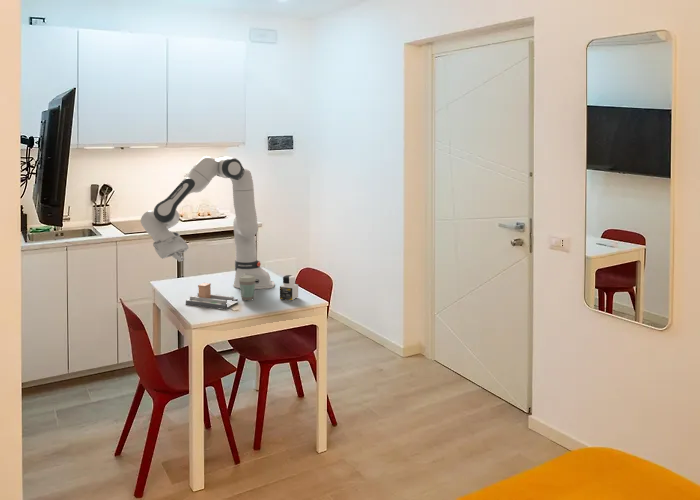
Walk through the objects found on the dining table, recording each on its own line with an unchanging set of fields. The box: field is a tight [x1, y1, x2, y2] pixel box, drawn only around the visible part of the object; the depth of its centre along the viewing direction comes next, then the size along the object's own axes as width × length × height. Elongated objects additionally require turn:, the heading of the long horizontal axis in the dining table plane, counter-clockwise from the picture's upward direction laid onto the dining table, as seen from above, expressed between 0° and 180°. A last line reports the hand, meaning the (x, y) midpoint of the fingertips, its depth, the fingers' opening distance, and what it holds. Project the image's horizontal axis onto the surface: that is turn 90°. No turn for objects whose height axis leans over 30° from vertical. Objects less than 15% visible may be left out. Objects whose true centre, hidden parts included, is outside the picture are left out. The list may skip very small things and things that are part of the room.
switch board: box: [185, 292, 239, 310], centre depth 308 cm, size 22×12×4 cm, turn 70°
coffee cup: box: [239, 275, 256, 301], centre depth 315 cm, size 8×8×12 cm
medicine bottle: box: [279, 274, 299, 301], centre depth 318 cm, size 7×7×12 cm
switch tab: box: [197, 282, 212, 298], centre depth 308 cm, size 4×5×7 cm
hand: (181, 260), depth 309 cm, fingers closed
